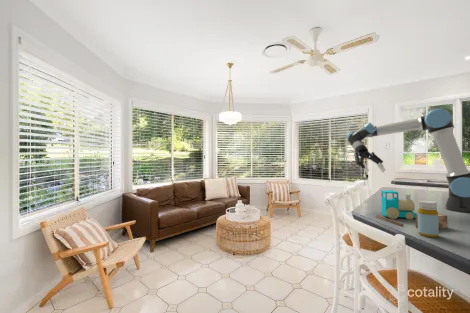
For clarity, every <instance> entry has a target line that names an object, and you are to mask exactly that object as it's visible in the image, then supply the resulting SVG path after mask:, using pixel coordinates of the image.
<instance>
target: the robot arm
mask: <svg viewBox="0 0 470 313" xmlns="http://www.w3.org/2000/svg"><path fill="white" fill-rule="evenodd" d="M454 128H455V126H454V123H453V120H452V115H451V113H450V112H449V111H448V110H447V109H444V108H435V109H431V110H430V111H429V112H428V113H426V115H422V116H419V117H418V118H415V119H409V120H402V121H398V122H397V121H396V122H391V123H385V124H380V125H373V124H372V122H368V123H366V124H364V126H361V128H359V129H358V130H357V131H354V130H352V131H350V132H348V133H347V135H346V139H347V141H348V143H349V145H351V147H352V148H353V150H354V151H355V153H354V155H353V156H354V158H355V159H354V160H355V164H356V166H357V165H358V166H359V167H361V168H362V169H363V171H364V173H366V174H368V172H369V171H370V169H369V168H368V166H367V164H366V163H365V162H364V159H366V160H369V161H372V162H373V163H375V164H376V166H377V168H378V169H379V170H380V172H382V173H384V172H385V171H386V169H385V168H386V167H385V166H384V165H383V163H384V160H383V159H381V158H380V157H379V156H378V155H377V154H375V152H374V151H372V152H370V151H369V150H368V147H367V146H366V144H365V143H364V142H363V141H364V139H366V138H373V137H378V136H383V135H385V136H386V135H391V134H400V133H405V132H410V131H417V130H420V131H428V132H429V135H432V136H434V140H435V143H436V145H437V148H438V150H439V153H440V154H441V158H442V161H443V163H444V166H445V168H446V171H447V174H445V177H446V181H447V183H448V197H447V200H446V203H445V205H444V208H445V209H446V210H448V211H453V212H458V213H459V212H461V213H470V170H469V169H468V168H467V165H466V163H465V160H464V158H463V156H462V152H461V150H460V147H459V145H458V142H457V140H456V137H455V135H454V132H453V130H454Z"/></svg>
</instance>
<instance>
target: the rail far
mask: <svg viewBox="0 0 470 313" xmlns="http://www.w3.org/2000/svg"><path fill="white" fill-rule="evenodd" d="M377 217H378V218H377ZM375 218H377V219H380V220H383V221H386V222H388V223H391V224H394V225H396V226H399V227H404V223H401V222H399V221H396V220H394V219H391V218H389V217H388V218H387V217H386V216H383V215H379V214H376V215H375Z"/></svg>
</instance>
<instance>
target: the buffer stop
mask: <svg viewBox="0 0 470 313" xmlns="http://www.w3.org/2000/svg"><path fill="white" fill-rule="evenodd" d="M438 226H439V229H447V228H448V215H447V214H443V213H438ZM415 228H416V229H418V215H416V218H415Z"/></svg>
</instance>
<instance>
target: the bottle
mask: <svg viewBox="0 0 470 313" xmlns="http://www.w3.org/2000/svg"><path fill="white" fill-rule="evenodd" d="M437 206H438V204H437V201H433V200H425V199H423V200H418V209H417V214H418V228H417V233H418V234H419V235H420V236H423V237H425V238H426V237H427V238H437V237H439V234H440V233H439V232H440V230H439V229H440V228H439V226H438V214H439V211H438V210H437Z"/></svg>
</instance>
